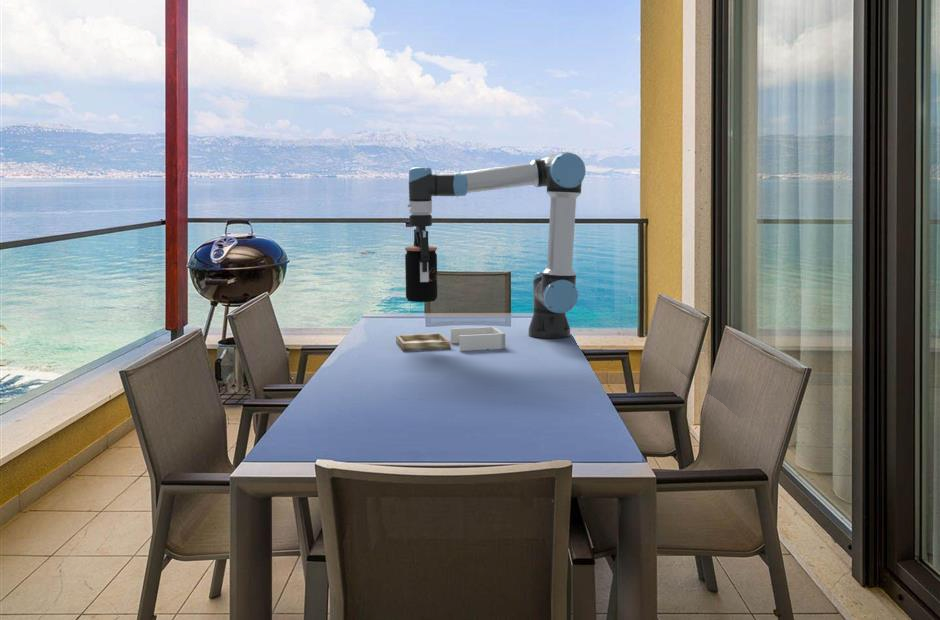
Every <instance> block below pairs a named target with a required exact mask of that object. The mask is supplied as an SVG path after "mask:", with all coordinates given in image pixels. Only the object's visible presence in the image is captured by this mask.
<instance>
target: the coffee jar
mask: <svg viewBox="0 0 940 620" xmlns="http://www.w3.org/2000/svg"><path fill="white" fill-rule="evenodd" d="M404 249H405V251H406V253H405V255H404V260H405V261H404V268H405V269H404V270H405V272H404V273H405V298H406V300H407V301H408V302H412V303H429V302H435V301H436V299H438V254H437V252H436V251H437V250H438V248H437V246H434V245H433V246H431V245H429V258H430V260H429V262H428V272H429V282H420V262H419V260H421V259H420V250H421V248H419V247H416V246H414V245H413V246H411V245H410V246H405V247H404Z"/></svg>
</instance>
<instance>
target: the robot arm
mask: <svg viewBox="0 0 940 620" xmlns="http://www.w3.org/2000/svg"><path fill="white" fill-rule="evenodd" d="M586 171H587V170H586V165H585V163H584V161H583V159H582V158H581V157H580V156H579V155H578V154H576V153H572V152H568V151H566V152H565V151H563V152H559V153H554V154H552V155H549V156H546V157H543V158H537V159H536V158H535V159H532V160H531V162H527V163H520V164H512V165H506V166H496V167H489V168H483V169H474V170H466V171H460V172H451V173H434V172H432V168H431V167H411V168H410V169H409V171H408V200H409V201H408V202H409V204H407V208H409V209H408V210H409V216H408V217H409V226H410V227H415V228H414V229H413V246H416V247H419V248H421V250H420V259H421V260H419V262H420V282H429V272H428V262H429V260H430V258H429V246H430V245H429V244H430V243H429V231H428V230H427V228H426V227H431V226H432V225H433V216H432V212H433V200H432V199H433V197H457V198H458V197H466V196H467V194H471V193H478V192H486V191H487V192H488V191H494V190H500V189H501V190H502V189H509V188H518V187H519V188H520V187H523V186H533V187H535V188H541V187H546V193H547V194H548V195H549V197H550V204H549V205H550V208H549V223H548V224H549V226H548V240H547V241H548V243H547V244H548V245H547V257H546V258H547V262H546V268H545V269H544V270H543V271H541V272H540V271H539V272H538V271H537V272H535V273H534V274H533V280H532V284H533V302H532V303H533V308H532V309H533V315H532V317H531V320H530V323H529V327H528V336H529V337H533V338H538V339H539V338H540V339H563V338H567V337H570V336H571V327H570V323H569V320H568V318H567V315H566V313H567V312H569V311H571V310H572V309H573V308H575V306H576V305H577V303H578V299H579V292H578V288H577V287H576V285H577V284H576V282H577V280H576V279H577V273H576V272H575V271H574V270H573V259H574V257H573V256H574V239H575V226H576V224H575V223H576V209H577V208H576V206H577V199H578V197H579V196H580V195H582V184H583V183H582V182H584V178H585V177H586Z"/></svg>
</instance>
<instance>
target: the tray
mask: <svg viewBox="0 0 940 620" xmlns="http://www.w3.org/2000/svg"><path fill="white" fill-rule="evenodd" d="M395 343H396V344H397V345H398V347H399V349H401V350H402V352H411V351H413V352H414V351H430V350H431V351H432V350H449V349H450V350H451V340H449V338H448V337H446V336H445V335H444V334H443V333H441V332H440V333H423V334H422V333H421V334H419V333H418V334H397V335H395Z"/></svg>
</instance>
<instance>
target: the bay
mask: <svg viewBox="0 0 940 620" xmlns="http://www.w3.org/2000/svg"><path fill="white" fill-rule="evenodd" d="M450 344H459V346H458V347H459V351H460V352H463V351H464V352H465V351H482V350H485V351H486V350H487V349H489V350H503V349H504V350H505V349H506V333H504V332H503V331H501V330H500V329H498V328H497V327H495V326H482V327H481V326H479V327H478V326H476V327H455V328H454V327H453V328H452V327H451V328H450Z"/></svg>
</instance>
